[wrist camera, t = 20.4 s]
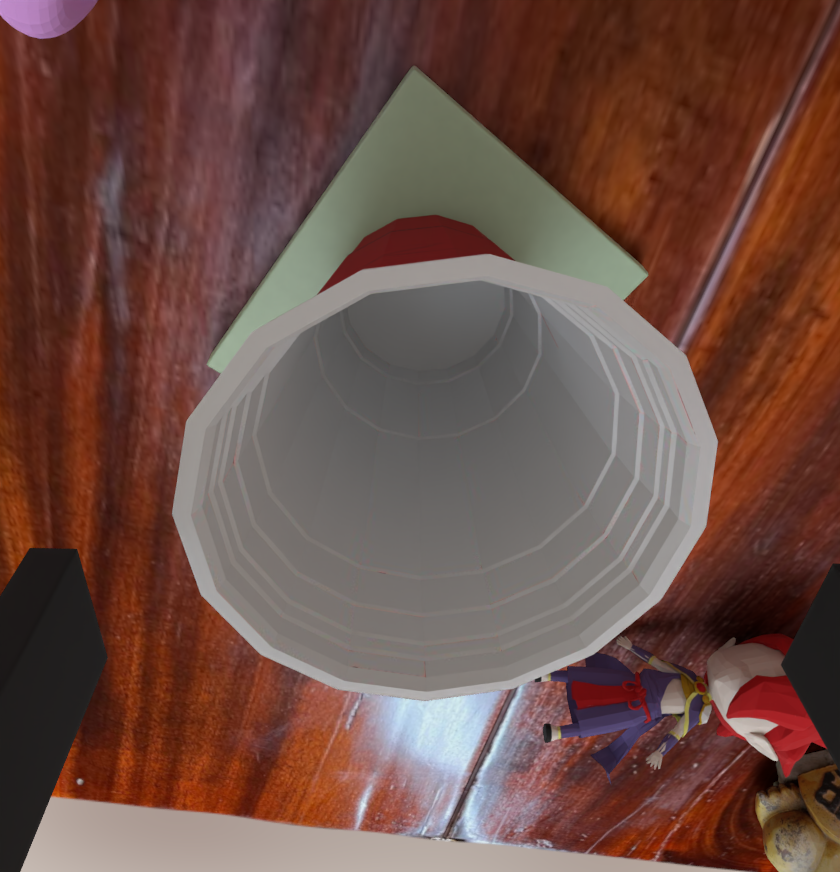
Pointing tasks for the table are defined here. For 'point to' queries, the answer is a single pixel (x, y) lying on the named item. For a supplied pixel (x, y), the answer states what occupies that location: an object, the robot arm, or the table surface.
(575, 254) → the scale
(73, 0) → the teapot
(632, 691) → the figurine
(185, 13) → the table surface
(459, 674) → the plastic cup
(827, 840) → the decorative figurine
